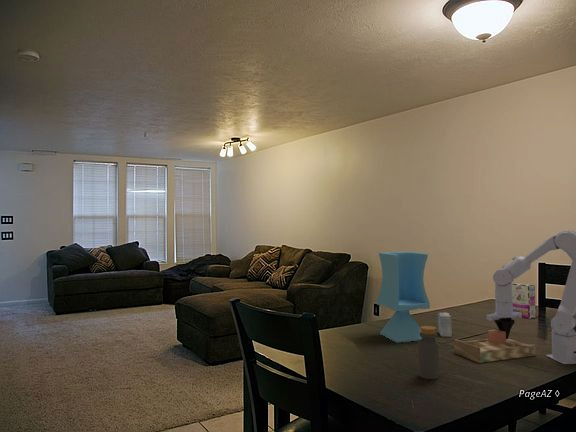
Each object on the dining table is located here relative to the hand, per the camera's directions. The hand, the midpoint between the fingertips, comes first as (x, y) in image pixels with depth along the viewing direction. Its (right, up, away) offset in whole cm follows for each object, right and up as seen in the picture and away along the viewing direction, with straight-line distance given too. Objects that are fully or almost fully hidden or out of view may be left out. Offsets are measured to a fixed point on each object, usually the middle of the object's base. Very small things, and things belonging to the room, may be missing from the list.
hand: (504, 338), depth 165 cm
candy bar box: (+37, -5, +58) cm, 69 cm away
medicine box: (-14, -5, +24) cm, 28 cm away
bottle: (-37, -4, -28) cm, 46 cm away
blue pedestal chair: (-33, -5, +20) cm, 38 cm away
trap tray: (-6, -4, -5) cm, 9 cm away
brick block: (-3, -1, -1) cm, 4 cm away
